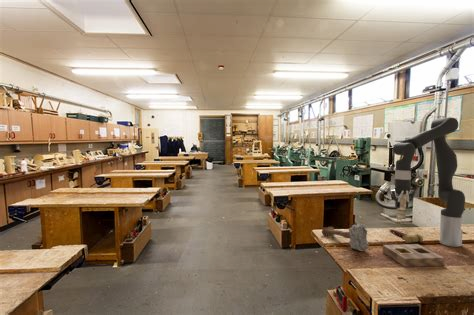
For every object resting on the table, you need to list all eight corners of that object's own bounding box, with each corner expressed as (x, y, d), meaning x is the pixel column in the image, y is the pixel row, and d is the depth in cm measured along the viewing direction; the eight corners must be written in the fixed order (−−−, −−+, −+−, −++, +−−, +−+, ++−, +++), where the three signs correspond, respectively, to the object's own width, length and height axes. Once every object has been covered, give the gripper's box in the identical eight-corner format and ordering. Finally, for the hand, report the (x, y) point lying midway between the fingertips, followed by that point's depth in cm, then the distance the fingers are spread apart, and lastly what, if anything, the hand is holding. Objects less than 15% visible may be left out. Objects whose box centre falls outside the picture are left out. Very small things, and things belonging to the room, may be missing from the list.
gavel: (382, 226, 162) (395, 226, 164) (382, 233, 162) (395, 232, 164) (408, 236, 142) (423, 235, 143) (408, 244, 142) (423, 243, 143)
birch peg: (402, 216, 137) (402, 192, 136) (407, 219, 133) (408, 194, 132) (395, 216, 137) (395, 192, 136) (400, 219, 133) (401, 194, 132)
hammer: (334, 237, 159) (375, 248, 131) (323, 243, 155) (362, 255, 128) (328, 216, 159) (368, 222, 132) (317, 221, 155) (355, 229, 128)
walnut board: (417, 251, 132) (417, 243, 132) (443, 265, 116) (444, 257, 116) (382, 252, 131) (383, 244, 130) (404, 266, 115) (405, 258, 115)
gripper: (409, 177, 138) (408, 206, 139) (386, 177, 137) (385, 206, 138) (420, 179, 130) (418, 209, 131) (395, 179, 130) (394, 210, 131)
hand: (401, 207), depth 135 cm, fingers closed on birch peg, 4 cm apart
